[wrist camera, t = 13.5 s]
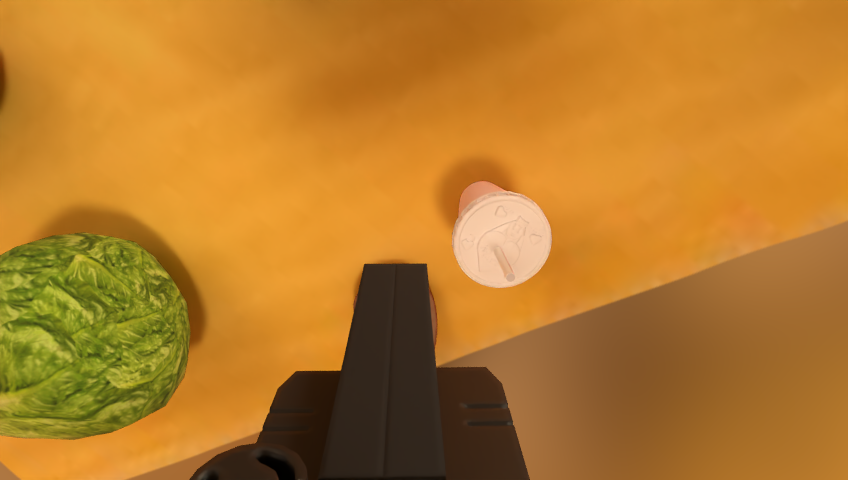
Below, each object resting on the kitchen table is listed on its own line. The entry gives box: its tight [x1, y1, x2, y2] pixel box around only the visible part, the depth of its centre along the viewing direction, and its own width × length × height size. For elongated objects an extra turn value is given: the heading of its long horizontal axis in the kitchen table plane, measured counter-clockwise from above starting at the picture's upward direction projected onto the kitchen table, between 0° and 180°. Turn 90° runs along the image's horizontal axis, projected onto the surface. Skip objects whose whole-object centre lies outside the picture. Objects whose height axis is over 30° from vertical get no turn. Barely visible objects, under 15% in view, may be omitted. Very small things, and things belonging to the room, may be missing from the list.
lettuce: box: [0, 233, 191, 440], centre depth 38 cm, size 14×23×14 cm
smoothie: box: [452, 181, 552, 288], centre depth 34 cm, size 6×6×14 cm
